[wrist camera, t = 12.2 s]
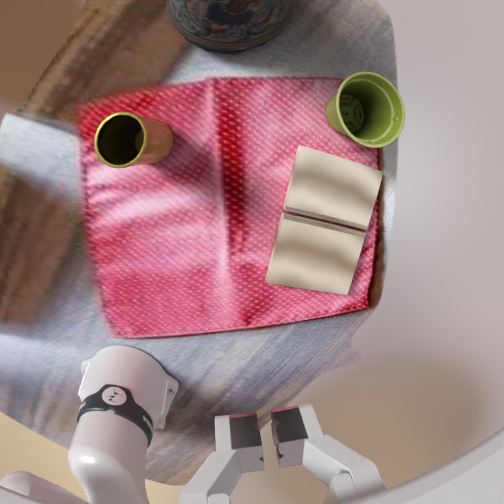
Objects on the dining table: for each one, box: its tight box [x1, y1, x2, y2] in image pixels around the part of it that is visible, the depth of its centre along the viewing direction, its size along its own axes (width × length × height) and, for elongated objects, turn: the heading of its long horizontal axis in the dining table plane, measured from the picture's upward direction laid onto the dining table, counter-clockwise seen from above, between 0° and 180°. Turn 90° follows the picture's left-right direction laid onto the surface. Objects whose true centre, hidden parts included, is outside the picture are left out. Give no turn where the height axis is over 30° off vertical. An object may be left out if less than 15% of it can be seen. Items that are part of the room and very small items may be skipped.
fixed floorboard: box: [283, 146, 383, 230], centre depth 42 cm, size 9×13×2 cm
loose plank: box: [265, 212, 366, 295], centre depth 44 cm, size 10×13×2 cm
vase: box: [94, 112, 173, 168], centre depth 31 cm, size 6×6×14 cm
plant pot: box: [326, 72, 405, 148], centre depth 35 cm, size 9×9×9 cm
